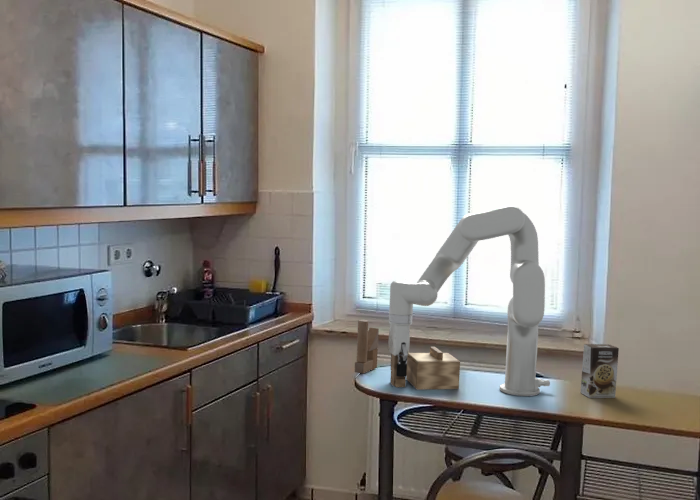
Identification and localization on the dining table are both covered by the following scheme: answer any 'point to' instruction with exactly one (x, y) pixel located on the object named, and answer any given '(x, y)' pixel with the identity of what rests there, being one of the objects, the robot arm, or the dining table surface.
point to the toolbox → (431, 374)
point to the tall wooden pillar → (395, 370)
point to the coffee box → (599, 371)
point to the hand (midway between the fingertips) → (398, 372)
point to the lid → (432, 356)
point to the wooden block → (366, 347)
